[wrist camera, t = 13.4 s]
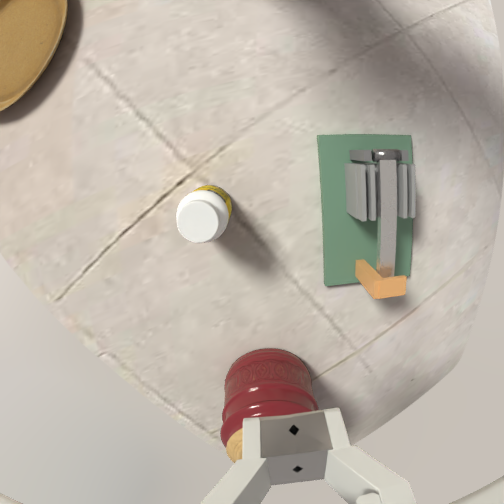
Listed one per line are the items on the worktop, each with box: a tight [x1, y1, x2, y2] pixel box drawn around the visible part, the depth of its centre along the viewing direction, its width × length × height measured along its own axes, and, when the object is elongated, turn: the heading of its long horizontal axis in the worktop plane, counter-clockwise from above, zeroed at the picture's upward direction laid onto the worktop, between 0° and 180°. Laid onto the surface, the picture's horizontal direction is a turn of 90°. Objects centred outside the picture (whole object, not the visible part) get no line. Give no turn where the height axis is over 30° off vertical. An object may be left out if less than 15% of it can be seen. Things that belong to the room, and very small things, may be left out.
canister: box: [220, 348, 318, 463], centre depth 38 cm, size 13×13×18 cm
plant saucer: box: [0, 0, 68, 111], centre depth 28 cm, size 24×24×3 cm
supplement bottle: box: [176, 185, 232, 243], centre depth 34 cm, size 5×5×10 cm
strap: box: [371, 149, 401, 278], centre depth 33 cm, size 16×3×1 cm, turn 5°
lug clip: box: [355, 259, 407, 299], centre depth 36 cm, size 2×4×7 cm, turn 96°
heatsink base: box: [317, 134, 416, 286], centre depth 36 cm, size 19×12×6 cm, turn 5°
